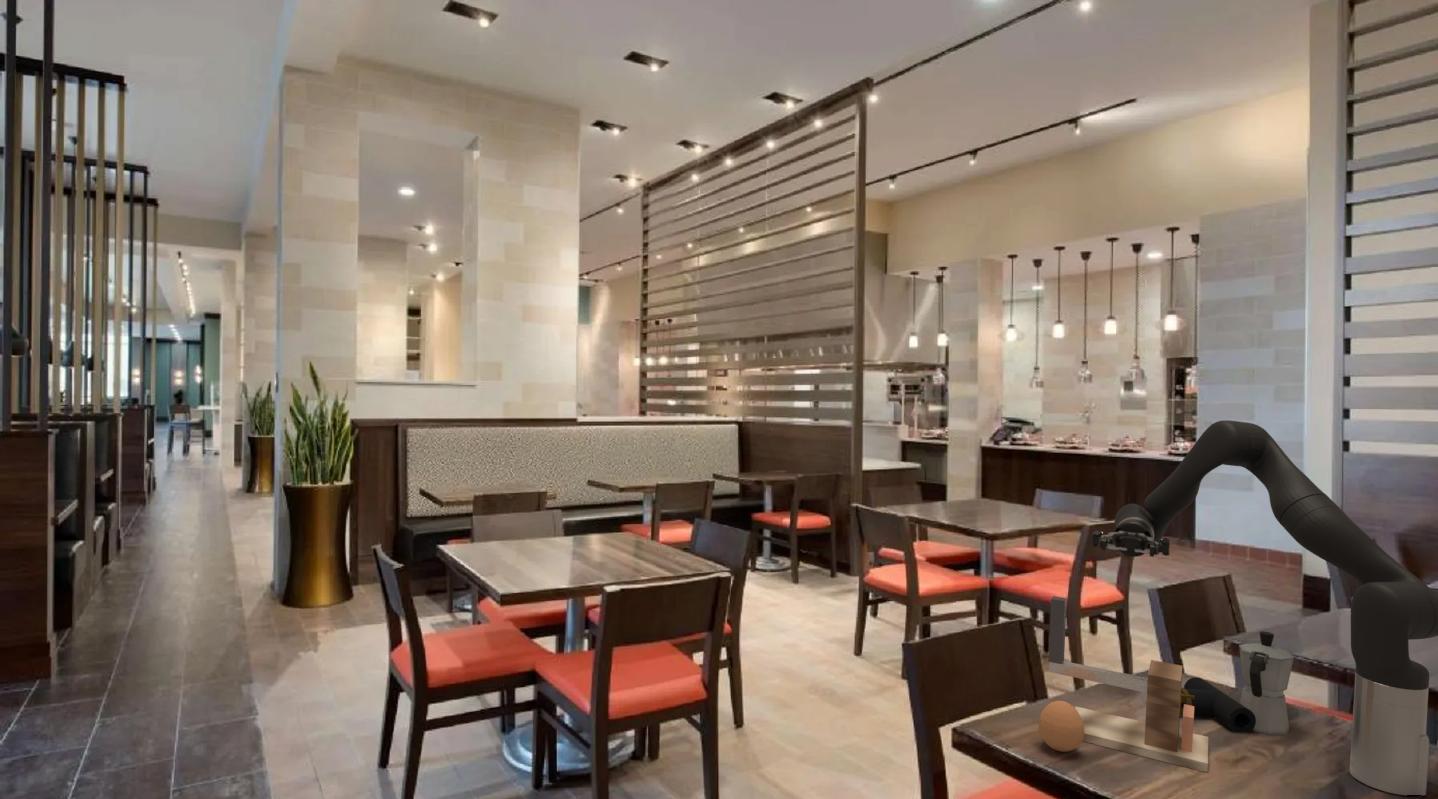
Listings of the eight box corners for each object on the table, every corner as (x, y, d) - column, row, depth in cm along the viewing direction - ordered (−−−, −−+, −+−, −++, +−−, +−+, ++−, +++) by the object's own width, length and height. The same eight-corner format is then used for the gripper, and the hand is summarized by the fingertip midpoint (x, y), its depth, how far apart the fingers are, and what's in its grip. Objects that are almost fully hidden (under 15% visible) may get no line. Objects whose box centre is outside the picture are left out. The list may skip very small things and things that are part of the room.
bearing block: (1207, 745, 142) (1211, 668, 142) (1207, 772, 132) (1211, 690, 131) (1075, 713, 154) (1078, 643, 153) (1065, 736, 144) (1069, 661, 143)
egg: (1079, 764, 133) (1082, 714, 133) (1033, 751, 137) (1036, 703, 137) (1086, 747, 140) (1088, 700, 139) (1041, 736, 144) (1044, 690, 143)
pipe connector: (1194, 704, 148) (1152, 673, 163) (1192, 731, 148) (1151, 699, 163) (1256, 707, 148) (1209, 677, 163) (1254, 735, 148) (1207, 702, 163)
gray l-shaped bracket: (1164, 692, 141) (1168, 614, 141) (1163, 696, 139) (1167, 618, 139) (1050, 668, 152) (1053, 596, 151) (1047, 672, 150) (1051, 598, 149)
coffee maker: (1243, 708, 159) (1248, 620, 158) (1296, 723, 153) (1302, 631, 152) (1222, 730, 149) (1227, 635, 148) (1278, 747, 142) (1284, 648, 142)
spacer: (1192, 739, 141) (1194, 706, 141) (1191, 752, 136) (1193, 718, 135) (1182, 737, 142) (1183, 704, 141) (1181, 749, 137) (1182, 715, 136)
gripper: (1098, 514, 175) (1089, 525, 161) (1172, 522, 167) (1169, 534, 154) (1097, 548, 175) (1087, 561, 161) (1170, 558, 168) (1167, 572, 154)
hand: (1127, 548), depth 158 cm, fingers open, 8 cm apart
